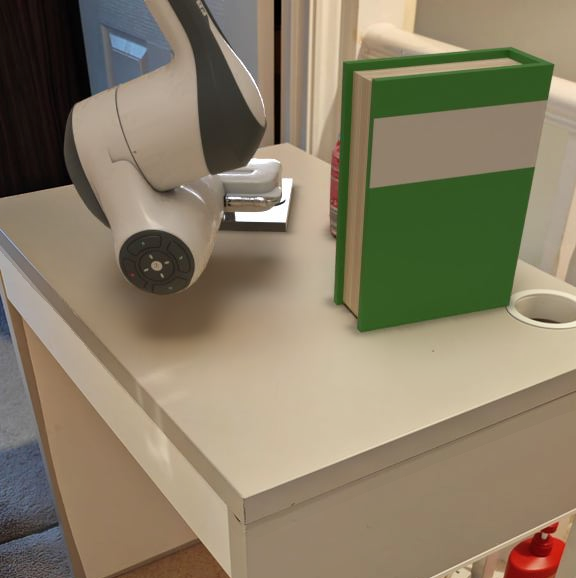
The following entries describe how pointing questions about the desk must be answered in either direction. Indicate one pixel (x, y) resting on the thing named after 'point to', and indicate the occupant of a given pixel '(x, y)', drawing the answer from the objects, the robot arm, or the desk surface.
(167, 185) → the robot arm
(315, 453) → the desk surface
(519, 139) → the hardback book
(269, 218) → the hob
